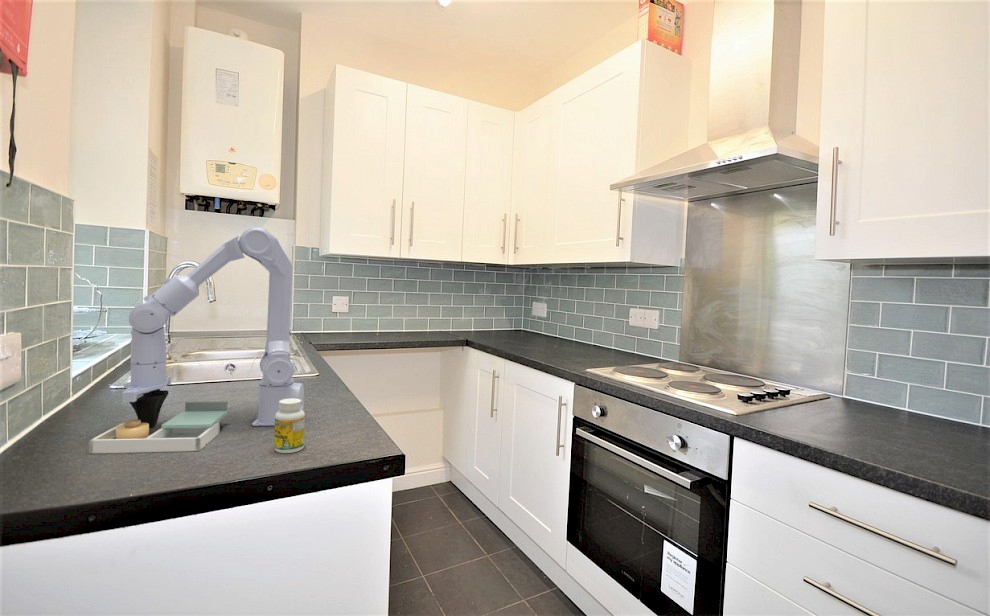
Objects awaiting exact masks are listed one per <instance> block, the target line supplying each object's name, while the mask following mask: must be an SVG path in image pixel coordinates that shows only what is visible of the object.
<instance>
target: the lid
mask: <svg viewBox="0 0 990 616" xmlns="http://www.w3.org/2000/svg"><path fill="white" fill-rule="evenodd" d="M184 403H185V404H184V405H185V407H184V408H185V410H183V411H182V412H180V413H178V414H177V415H175V416H174V417H172V418H170V419H169V420H168V421H166V422H164V423H162V424H161V428H195V427H212V426H213V425H214V424H215V423H217V422H220V420H222V419H223V418H224V417H226V416H227V415H228V414H229V413H230V410H229V409H228V400H199V401H198V400H187V401H185V402H184Z"/></svg>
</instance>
